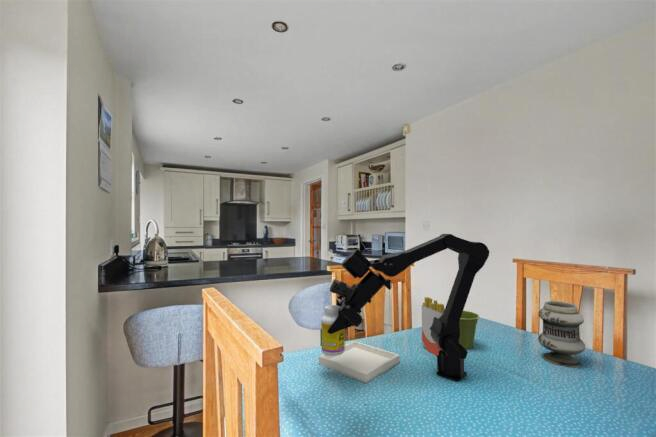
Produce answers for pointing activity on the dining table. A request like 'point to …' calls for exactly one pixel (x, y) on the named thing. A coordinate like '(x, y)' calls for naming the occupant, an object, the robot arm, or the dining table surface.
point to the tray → (361, 361)
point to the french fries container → (430, 323)
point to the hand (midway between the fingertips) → (328, 328)
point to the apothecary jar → (561, 333)
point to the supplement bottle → (334, 341)
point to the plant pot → (468, 328)
